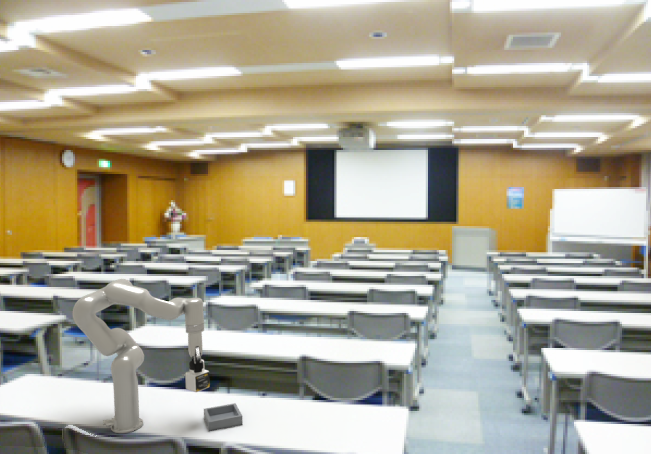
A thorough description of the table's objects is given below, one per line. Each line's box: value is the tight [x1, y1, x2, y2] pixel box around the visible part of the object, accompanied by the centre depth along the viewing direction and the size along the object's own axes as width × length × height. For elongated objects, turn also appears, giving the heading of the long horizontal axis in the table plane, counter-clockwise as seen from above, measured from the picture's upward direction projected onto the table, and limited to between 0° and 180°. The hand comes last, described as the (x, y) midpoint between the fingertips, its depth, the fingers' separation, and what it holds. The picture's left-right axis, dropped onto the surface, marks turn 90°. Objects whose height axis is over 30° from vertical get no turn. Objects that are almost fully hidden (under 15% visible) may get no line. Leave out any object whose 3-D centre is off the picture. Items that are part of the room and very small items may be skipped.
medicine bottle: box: [185, 358, 211, 393], centre depth 201 cm, size 7×7×12 cm
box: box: [203, 402, 243, 433], centre depth 205 cm, size 14×14×4 cm
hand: (197, 369), depth 201 cm, fingers closed on medicine bottle, 6 cm apart
